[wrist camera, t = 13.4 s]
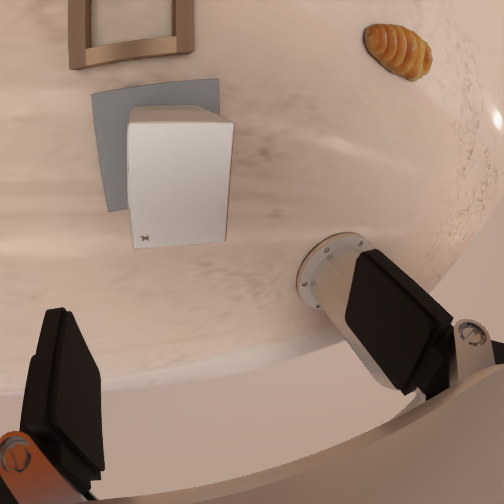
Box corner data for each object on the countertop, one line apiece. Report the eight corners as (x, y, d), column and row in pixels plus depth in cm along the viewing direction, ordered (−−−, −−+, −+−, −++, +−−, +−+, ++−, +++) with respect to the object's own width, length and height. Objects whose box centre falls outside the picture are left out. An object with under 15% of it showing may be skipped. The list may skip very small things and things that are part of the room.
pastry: (356, 61, 31) (377, 62, 28) (364, 11, 28) (385, 9, 25) (410, 82, 34) (431, 86, 31) (417, 38, 31) (438, 39, 28)
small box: (194, 182, 32) (227, 245, 22) (131, 186, 30) (130, 252, 20) (198, 103, 28) (236, 121, 18) (131, 104, 26) (124, 123, 16)
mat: (217, 78, 28) (218, 78, 27) (220, 191, 34) (222, 193, 34) (92, 94, 25) (91, 94, 24) (108, 210, 31) (108, 212, 31)
